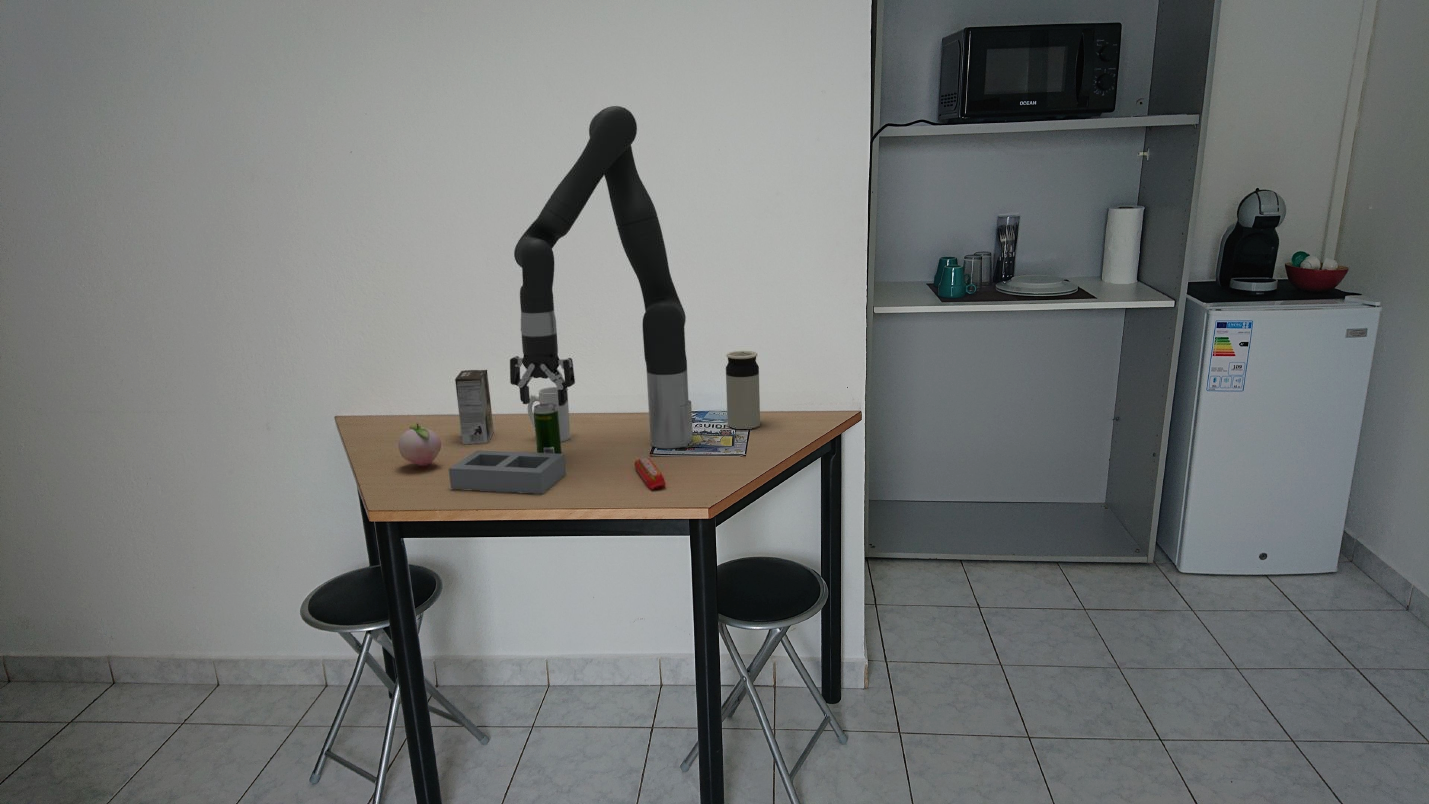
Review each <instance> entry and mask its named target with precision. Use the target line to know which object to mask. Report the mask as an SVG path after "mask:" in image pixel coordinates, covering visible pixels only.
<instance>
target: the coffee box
mask: <svg viewBox="0 0 1429 804" xmlns="http://www.w3.org/2000/svg"><path fill="white" fill-rule="evenodd" d="M454 381H455V382H454V383H455V389H456V392H455V393H456V400H457V409H458V417H459V425H460V426H459V427H460V434H461V436H460V437H461V442H462V443H461V444H462V445H474V444H475V445H476V443H477V444H478V445H479V444H488V443H490V440H491V439H492V436H493V434H494V433H495V431H494V424H493V423H494V422H493V420H494V419H493V411H492V403H491V395H490V385H489V376H488V369H469V370H461V371H460V372H459V374H458V375H457V376H456V378H455V379H454Z"/></svg>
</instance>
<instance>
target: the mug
mask: <svg viewBox="0 0 1429 804" xmlns="http://www.w3.org/2000/svg"><path fill="white" fill-rule="evenodd" d="M558 389H559V388H558V387H557V386H548V387H545V388H540V389H539V390H538V392H537V393H538V395H537V394H530V402H529V403H528V404H527V413H528V417H529V419H530V421H531V423H532V426H533V427H534V428H535V423H534V411H533V405H534V403H535V402H539V404H545V403H552V404H556V405H557V408H558V416H559V428H560V440H561V442H565V441H568V440H569V439H570V438H571V428H570V410H569V408H570V407H569V394H568V393H569V392H568V391H567V399H568V400H567V402H566V403H565V405H563V406H559V403H558Z"/></svg>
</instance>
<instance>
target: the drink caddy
mask: <svg viewBox="0 0 1429 804" xmlns="http://www.w3.org/2000/svg"><path fill="white" fill-rule="evenodd" d="M565 461H566V459H565V454H564V453H562V454H552V453H537V452H523V451H501V450H482V449H481V450H475V451H474V452H472V453H471V454H469V455H468V456H466V457H465V458H463V459H461V460H459V461H458V462H456V463H455V464H453V465H452V466H450V467H449V468H448V474H449V482H450V489H451V488H452V489H451V490H454V489H471V490H470V491H472V490H480V491H479V492H490V491H496V492H495V493H509V492H517V493H516V494H519V493H518V492H522V493H521V494H527V493H535V494H534V495H543V494H544V493H546V492H547V491H548V490H549V489H550V488H551V487H553V486H554V485H555V484H556V483H557V482H558V481H560V480H561V479H562V478H563V477H565V475H566V462H565ZM547 489H548V490H547ZM546 490H547V491H546ZM543 492H544V493H543Z"/></svg>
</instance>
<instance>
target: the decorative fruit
mask: <svg viewBox="0 0 1429 804" xmlns="http://www.w3.org/2000/svg"><path fill="white" fill-rule="evenodd" d="M438 435H439V434H437V433H436V432H434V431H433V430H431V429H428V428H425V427H422V426H421V425H419V423H418V422H417V423H416V425H410V426H409V429H408V430H406V431H404V432H403V433H402V434H401V436H400V437H399V440H398V443H397V446H398V451H399V453H400V455H401V457H402V458H403V459H404V460H405V461H407V462H409V463H412V464H415V465H417V466H418V465H419V466H420V467H422V468H424V467H426V466H427V465H429V464H431V463H432V462H433V461H434V460H435V459H436V458H437V457H438V456H439V454H440V451H441V447H442V440H441V438H440V436H438Z"/></svg>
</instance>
